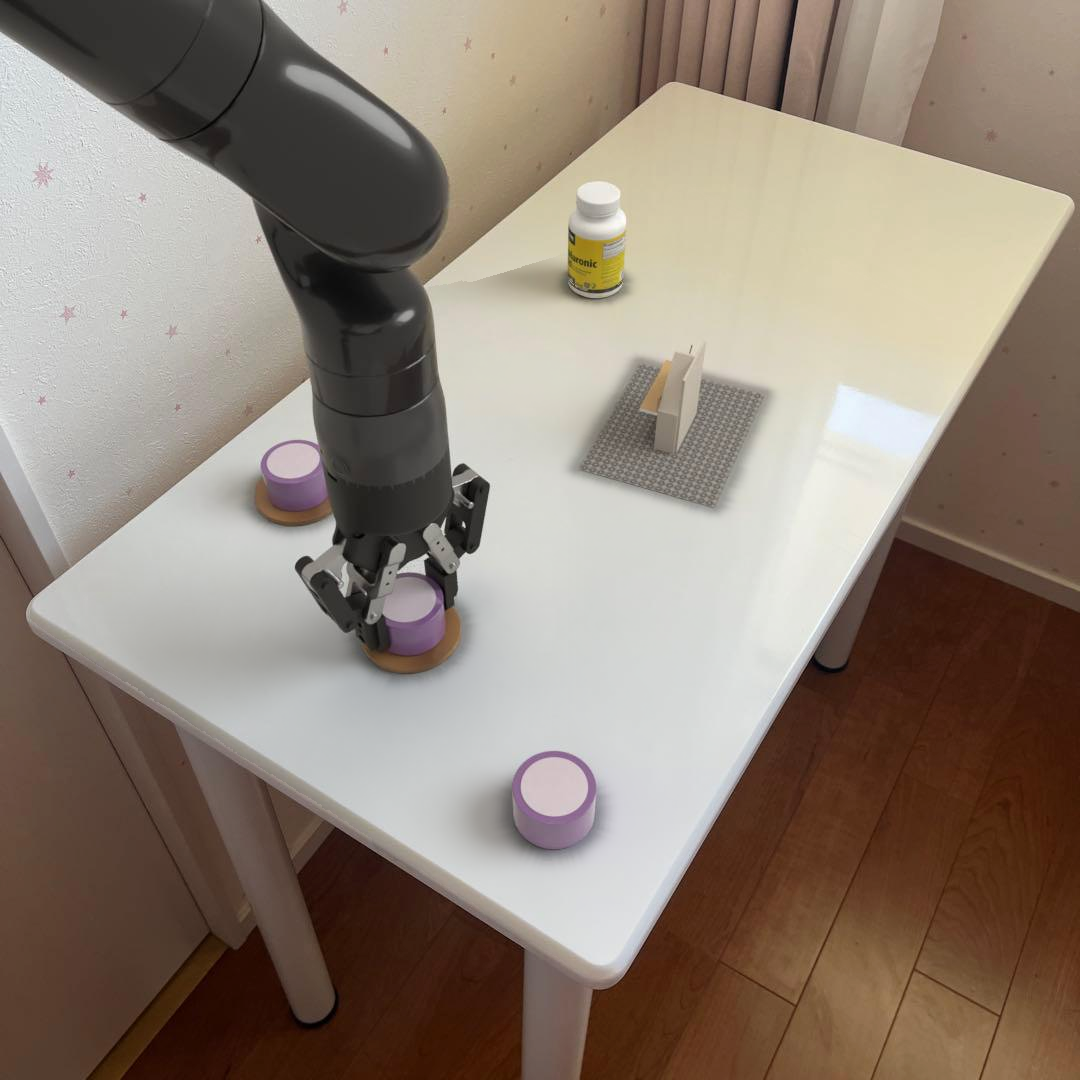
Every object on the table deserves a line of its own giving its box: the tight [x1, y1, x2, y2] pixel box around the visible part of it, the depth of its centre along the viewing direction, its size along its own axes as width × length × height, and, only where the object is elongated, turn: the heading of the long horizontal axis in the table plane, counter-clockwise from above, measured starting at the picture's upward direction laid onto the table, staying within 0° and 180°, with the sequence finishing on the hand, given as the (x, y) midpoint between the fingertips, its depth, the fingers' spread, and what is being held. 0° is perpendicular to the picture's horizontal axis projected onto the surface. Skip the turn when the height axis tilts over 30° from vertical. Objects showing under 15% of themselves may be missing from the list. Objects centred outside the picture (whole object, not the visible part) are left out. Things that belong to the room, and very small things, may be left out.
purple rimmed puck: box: [511, 750, 597, 850], centre depth 67 cm, size 5×5×3 cm
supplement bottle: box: [567, 180, 628, 299], centre depth 103 cm, size 5×5×10 cm
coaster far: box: [253, 476, 333, 527], centre depth 87 cm, size 7×7×1 cm
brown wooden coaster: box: [360, 606, 462, 675], centre depth 77 cm, size 7×7×1 cm
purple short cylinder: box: [259, 439, 328, 511], centre depth 85 cm, size 5×5×3 cm
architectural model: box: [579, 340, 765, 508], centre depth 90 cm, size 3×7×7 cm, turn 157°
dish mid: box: [382, 571, 446, 656], centre depth 76 cm, size 5×5×3 cm
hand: (409, 622), depth 76 cm, fingers closed on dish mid, 5 cm apart
